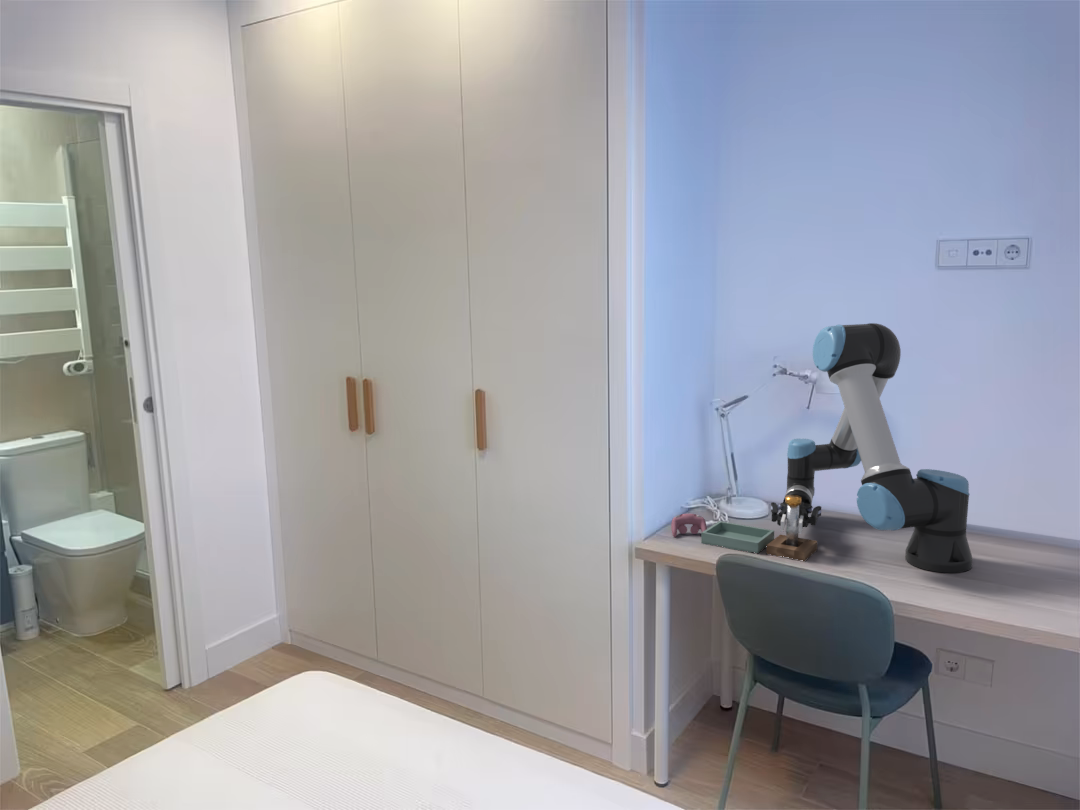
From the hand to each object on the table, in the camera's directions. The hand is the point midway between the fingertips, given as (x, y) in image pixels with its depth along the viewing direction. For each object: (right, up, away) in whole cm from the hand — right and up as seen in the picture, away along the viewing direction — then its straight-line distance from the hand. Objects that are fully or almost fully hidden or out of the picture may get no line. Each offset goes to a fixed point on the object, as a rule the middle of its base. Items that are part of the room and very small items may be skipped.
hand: (791, 527), depth 210 cm
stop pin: (+2, -7, +6) cm, 10 cm away
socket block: (+2, -7, +6) cm, 10 cm away
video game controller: (-22, -6, +22) cm, 32 cm away
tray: (-10, -6, +15) cm, 19 cm away
